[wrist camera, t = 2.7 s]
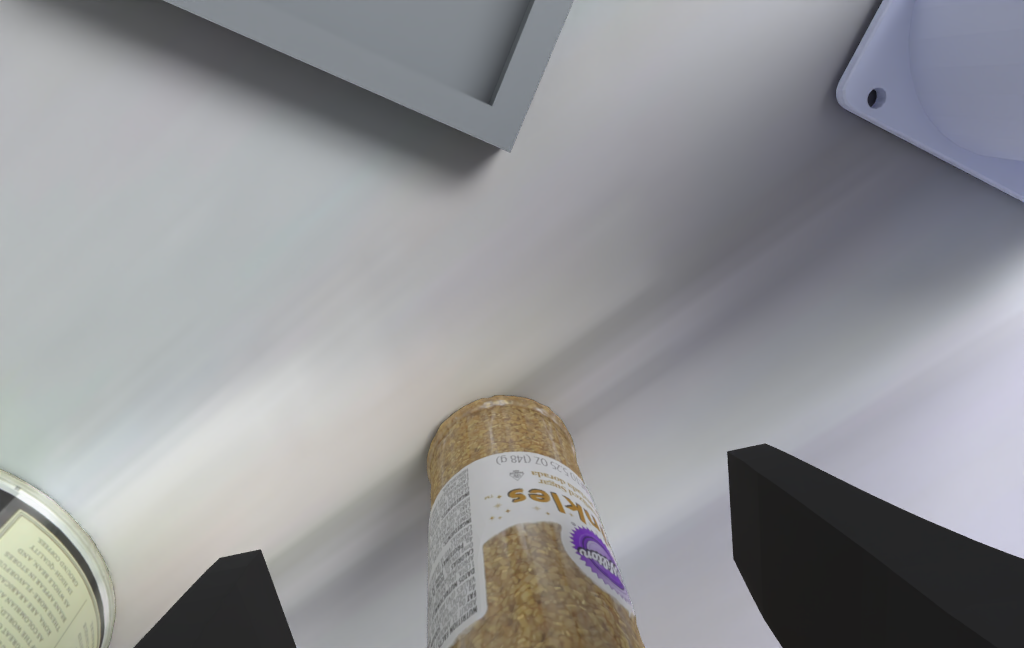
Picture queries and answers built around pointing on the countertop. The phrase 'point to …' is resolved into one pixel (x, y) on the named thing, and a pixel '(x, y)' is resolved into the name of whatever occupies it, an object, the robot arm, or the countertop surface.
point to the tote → (415, 50)
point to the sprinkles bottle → (518, 537)
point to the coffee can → (49, 575)
